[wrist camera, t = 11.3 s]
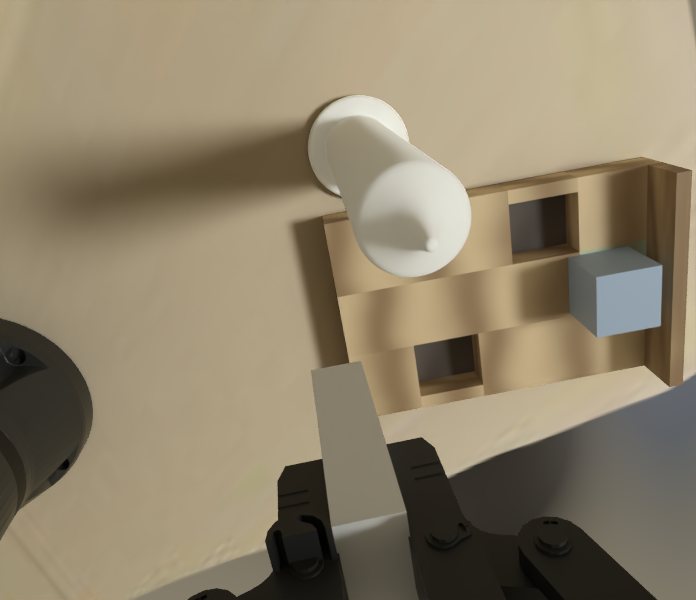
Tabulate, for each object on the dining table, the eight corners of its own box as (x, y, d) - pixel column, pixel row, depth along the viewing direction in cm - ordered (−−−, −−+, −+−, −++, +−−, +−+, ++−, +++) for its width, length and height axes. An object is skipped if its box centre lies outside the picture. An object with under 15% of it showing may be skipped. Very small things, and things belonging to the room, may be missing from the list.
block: (569, 313, 46) (597, 337, 42) (568, 257, 45) (596, 277, 41) (627, 302, 46) (660, 326, 42) (628, 246, 45) (662, 265, 41)
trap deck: (356, 402, 51) (364, 445, 45) (322, 216, 45) (326, 238, 39) (640, 349, 51) (682, 384, 45) (642, 157, 45) (692, 170, 39)
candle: (328, 211, 45) (365, 372, 21) (292, 116, 42) (289, 182, 19) (420, 176, 44) (559, 302, 21) (389, 79, 42) (509, 99, 18)
